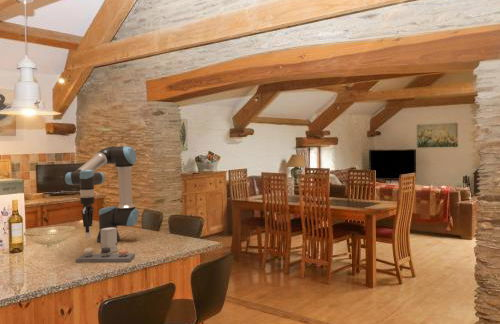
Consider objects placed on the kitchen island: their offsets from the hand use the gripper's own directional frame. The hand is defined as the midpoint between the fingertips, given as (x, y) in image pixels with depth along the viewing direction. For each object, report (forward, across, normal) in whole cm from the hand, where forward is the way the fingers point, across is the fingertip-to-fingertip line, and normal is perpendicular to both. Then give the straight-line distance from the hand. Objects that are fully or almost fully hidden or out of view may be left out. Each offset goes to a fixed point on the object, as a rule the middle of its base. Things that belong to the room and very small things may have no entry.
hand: (88, 237), depth 262 cm
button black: (+11, 0, +10) cm, 15 cm away
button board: (+13, 0, +10) cm, 16 cm away
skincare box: (+13, -18, +6) cm, 23 cm away
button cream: (+11, 0, 0) cm, 11 cm away
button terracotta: (+12, 0, +20) cm, 23 cm away
